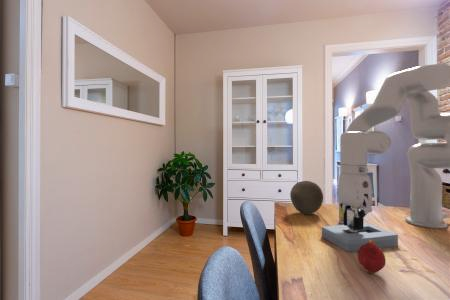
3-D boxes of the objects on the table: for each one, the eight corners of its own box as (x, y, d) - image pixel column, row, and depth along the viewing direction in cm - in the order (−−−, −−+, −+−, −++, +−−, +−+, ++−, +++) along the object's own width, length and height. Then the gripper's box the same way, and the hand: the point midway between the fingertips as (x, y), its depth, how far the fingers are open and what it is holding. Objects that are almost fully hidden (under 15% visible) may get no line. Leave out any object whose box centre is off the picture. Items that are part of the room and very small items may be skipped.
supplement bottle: (360, 226, 90) (360, 192, 90) (341, 225, 92) (341, 192, 92) (354, 221, 97) (354, 189, 97) (336, 220, 98) (336, 189, 98)
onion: (386, 282, 53) (386, 247, 53) (356, 275, 56) (356, 241, 56) (384, 270, 58) (385, 238, 58) (358, 264, 61) (358, 234, 61)
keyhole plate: (366, 232, 84) (366, 222, 84) (397, 245, 73) (397, 234, 73) (321, 236, 80) (321, 226, 80) (348, 252, 69) (348, 240, 69)
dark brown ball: (288, 209, 115) (288, 178, 115) (318, 210, 113) (318, 179, 113) (292, 218, 101) (292, 183, 101) (327, 219, 99) (327, 183, 99)
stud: (353, 237, 78) (353, 207, 78) (363, 242, 75) (363, 211, 74) (343, 238, 78) (343, 208, 77) (352, 243, 74) (352, 211, 74)
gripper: (386, 172, 69) (385, 235, 69) (344, 167, 85) (344, 218, 85) (364, 173, 67) (364, 237, 67) (326, 168, 83) (326, 220, 83)
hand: (353, 226), depth 76 cm, fingers closed on stud, 3 cm apart
